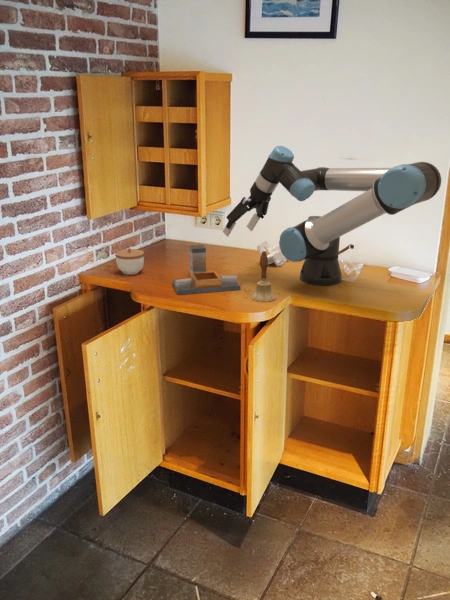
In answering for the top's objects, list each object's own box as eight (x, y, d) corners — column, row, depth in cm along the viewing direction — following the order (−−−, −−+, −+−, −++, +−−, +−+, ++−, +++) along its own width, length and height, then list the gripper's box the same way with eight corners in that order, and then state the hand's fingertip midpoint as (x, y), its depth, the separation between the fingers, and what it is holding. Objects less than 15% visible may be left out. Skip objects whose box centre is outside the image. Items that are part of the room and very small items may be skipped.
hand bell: (258, 303, 183) (259, 256, 177) (247, 295, 190) (247, 249, 184) (280, 300, 186) (282, 253, 180) (268, 292, 193) (270, 247, 187)
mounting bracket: (277, 263, 233) (267, 239, 231) (290, 259, 229) (281, 234, 228) (265, 271, 223) (256, 245, 221) (279, 266, 219) (270, 241, 218)
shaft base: (231, 279, 206) (231, 269, 205) (240, 289, 195) (240, 278, 194) (172, 283, 201) (172, 273, 200) (177, 294, 190) (177, 283, 189)
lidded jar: (144, 267, 220) (143, 244, 217) (145, 275, 210) (144, 251, 207) (116, 268, 218) (115, 245, 215) (116, 277, 208) (114, 252, 205)
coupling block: (203, 272, 214) (202, 244, 210) (205, 276, 209) (205, 248, 205) (190, 273, 213) (189, 245, 209) (192, 277, 208) (192, 248, 204)
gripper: (278, 177, 207) (252, 220, 220) (233, 183, 189) (208, 229, 203) (291, 190, 204) (264, 232, 217) (247, 197, 187) (221, 243, 200)
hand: (237, 231), depth 210 cm, fingers open, 13 cm apart
